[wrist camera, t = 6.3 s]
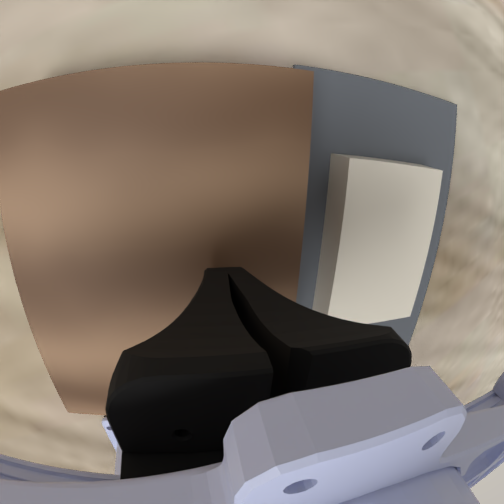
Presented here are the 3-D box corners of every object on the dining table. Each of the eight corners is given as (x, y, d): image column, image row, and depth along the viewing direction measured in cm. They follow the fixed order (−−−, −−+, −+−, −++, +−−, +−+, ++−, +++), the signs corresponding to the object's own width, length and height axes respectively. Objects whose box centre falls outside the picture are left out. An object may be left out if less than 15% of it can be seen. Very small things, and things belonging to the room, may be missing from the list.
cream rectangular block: (324, 330, 16) (312, 310, 18) (410, 316, 18) (393, 300, 19) (349, 157, 13) (330, 153, 15) (442, 170, 14) (420, 164, 16)
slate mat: (405, 345, 22) (407, 347, 22) (271, 370, 20) (272, 373, 20) (453, 104, 15) (457, 104, 15) (292, 65, 13) (295, 64, 13)
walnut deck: (265, 359, 19) (281, 405, 16) (81, 366, 17) (67, 412, 13) (282, 83, 13) (314, 71, 10) (37, 96, 11) (-6, 92, 7)
